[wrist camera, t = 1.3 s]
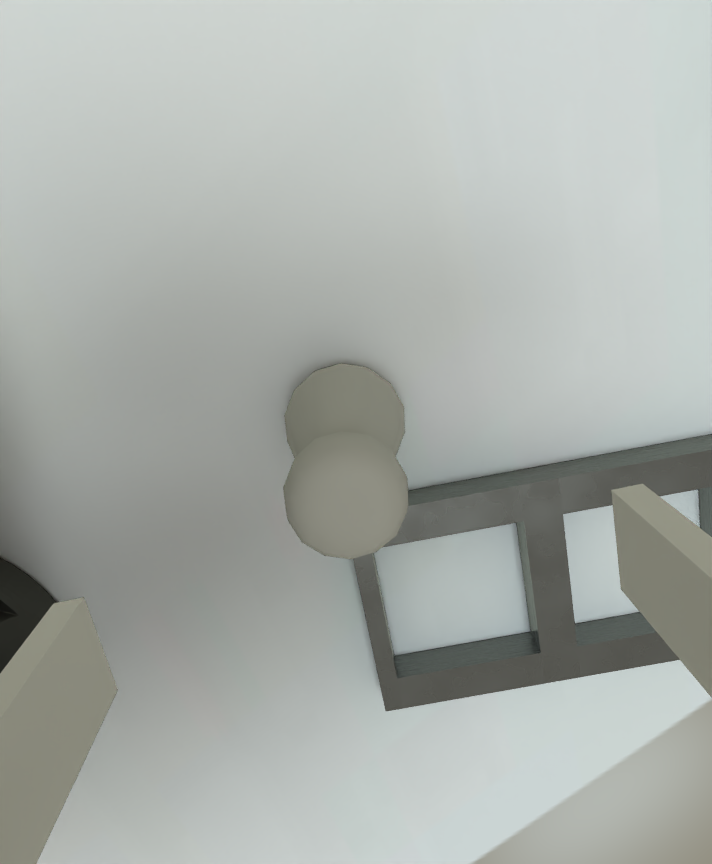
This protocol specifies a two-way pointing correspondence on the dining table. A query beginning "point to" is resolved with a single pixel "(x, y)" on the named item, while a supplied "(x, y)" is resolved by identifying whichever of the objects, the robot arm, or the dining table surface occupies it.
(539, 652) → the double window frame
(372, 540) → the salt shaker
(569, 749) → the dining table surface
